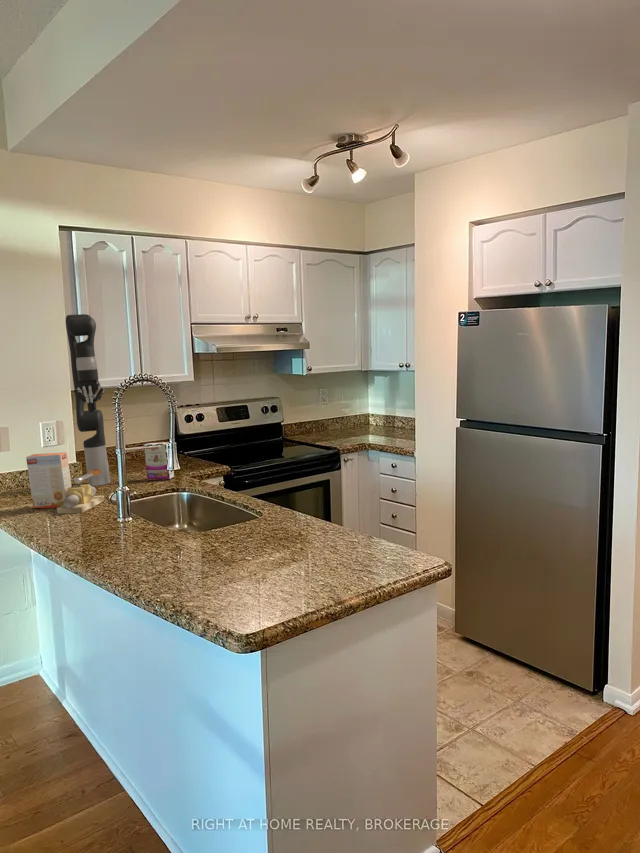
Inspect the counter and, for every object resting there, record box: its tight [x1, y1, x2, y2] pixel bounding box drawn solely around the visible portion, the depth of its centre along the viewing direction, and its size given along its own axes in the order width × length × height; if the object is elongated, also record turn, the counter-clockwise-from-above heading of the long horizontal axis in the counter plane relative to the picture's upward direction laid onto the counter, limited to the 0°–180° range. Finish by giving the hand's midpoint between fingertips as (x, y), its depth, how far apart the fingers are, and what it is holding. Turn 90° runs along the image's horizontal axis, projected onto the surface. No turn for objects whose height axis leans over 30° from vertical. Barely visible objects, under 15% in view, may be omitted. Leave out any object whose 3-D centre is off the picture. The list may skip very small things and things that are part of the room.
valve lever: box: [73, 469, 100, 485], centre depth 246 cm, size 16×3×2 cm, turn 172°
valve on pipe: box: [56, 483, 105, 514], centre depth 241 cm, size 17×10×9 cm, turn 172°
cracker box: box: [25, 451, 73, 509], centre depth 244 cm, size 14×6×21 cm, turn 84°
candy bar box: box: [143, 441, 175, 480], centre depth 281 cm, size 11×5×16 cm, turn 77°
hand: (92, 412), depth 251 cm, fingers closed
